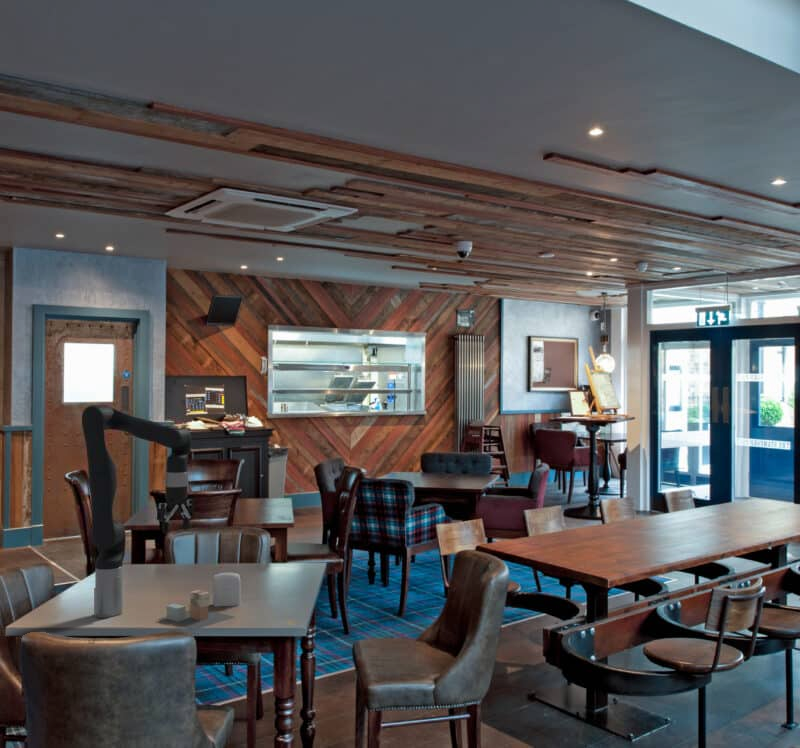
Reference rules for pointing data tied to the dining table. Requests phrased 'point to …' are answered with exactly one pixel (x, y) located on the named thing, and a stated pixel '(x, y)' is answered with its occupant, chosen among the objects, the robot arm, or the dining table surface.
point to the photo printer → (227, 589)
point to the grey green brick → (175, 612)
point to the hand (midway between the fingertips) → (175, 531)
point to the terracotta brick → (198, 612)
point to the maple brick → (199, 598)
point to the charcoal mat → (195, 624)
